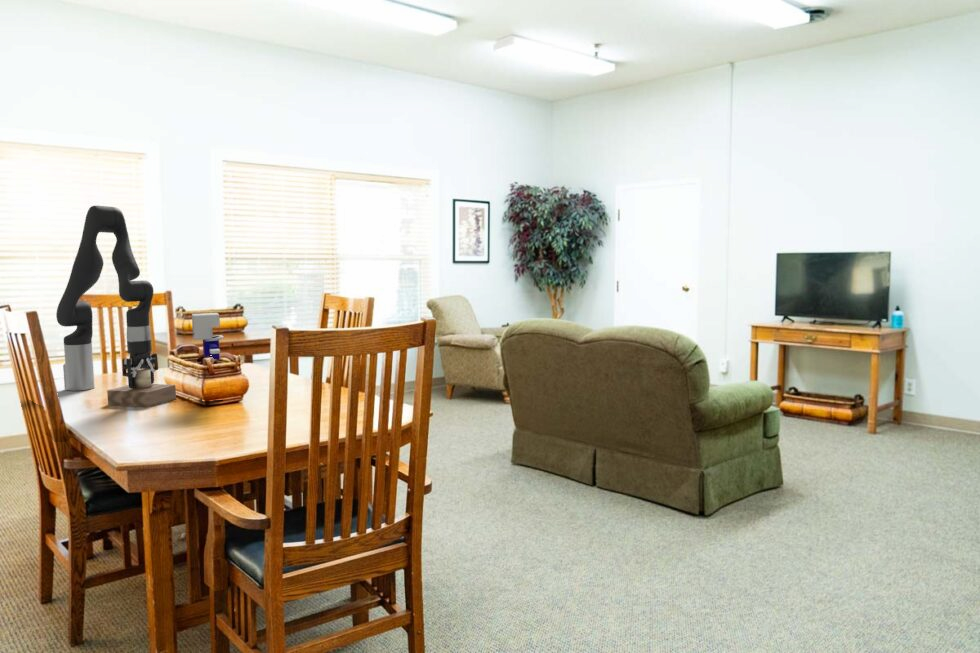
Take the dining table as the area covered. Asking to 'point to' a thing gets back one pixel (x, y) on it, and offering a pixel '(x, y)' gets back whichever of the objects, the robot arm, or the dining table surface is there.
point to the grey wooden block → (141, 395)
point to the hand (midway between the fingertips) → (141, 385)
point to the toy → (207, 332)
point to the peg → (143, 379)
